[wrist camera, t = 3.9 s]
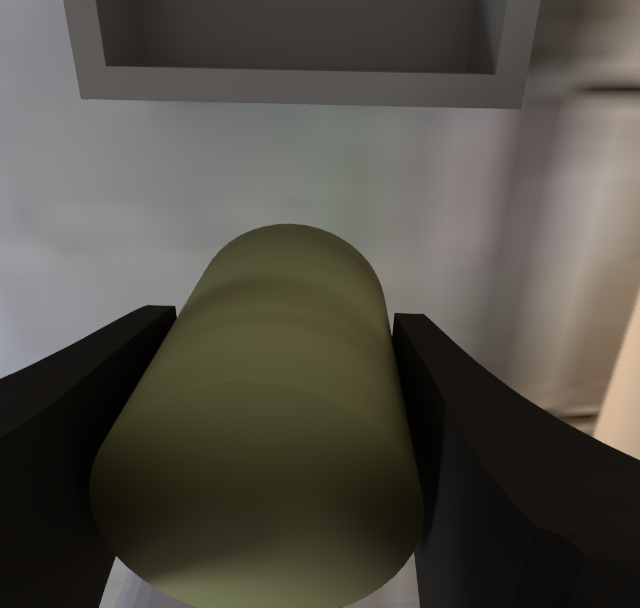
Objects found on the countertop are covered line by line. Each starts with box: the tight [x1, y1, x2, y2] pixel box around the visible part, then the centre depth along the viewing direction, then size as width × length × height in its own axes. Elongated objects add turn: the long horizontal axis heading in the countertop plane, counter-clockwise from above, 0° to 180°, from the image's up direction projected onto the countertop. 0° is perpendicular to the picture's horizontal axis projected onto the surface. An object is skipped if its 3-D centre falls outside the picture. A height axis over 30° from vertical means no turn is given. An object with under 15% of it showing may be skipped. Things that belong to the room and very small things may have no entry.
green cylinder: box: [89, 224, 424, 608], centre depth 10 cm, size 5×5×6 cm
